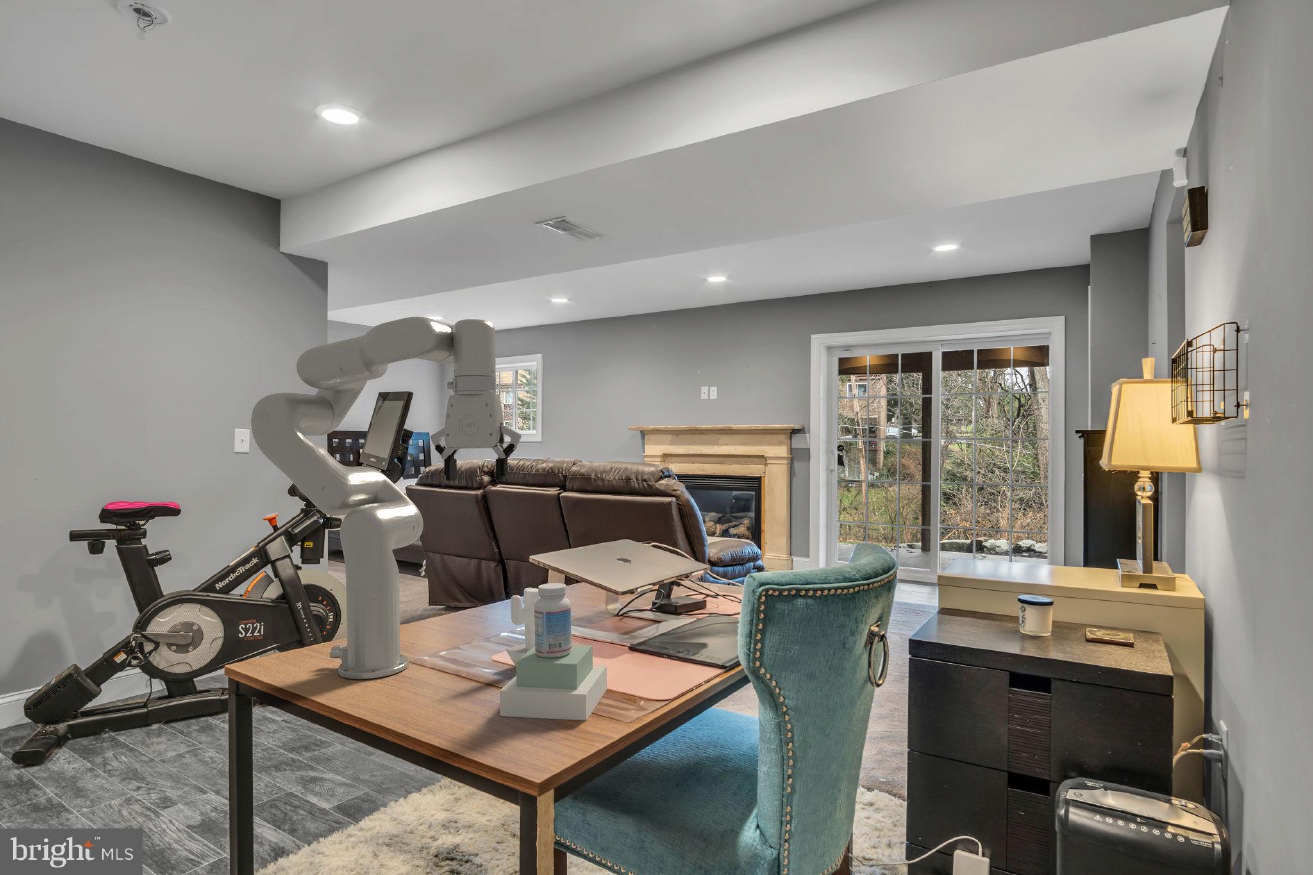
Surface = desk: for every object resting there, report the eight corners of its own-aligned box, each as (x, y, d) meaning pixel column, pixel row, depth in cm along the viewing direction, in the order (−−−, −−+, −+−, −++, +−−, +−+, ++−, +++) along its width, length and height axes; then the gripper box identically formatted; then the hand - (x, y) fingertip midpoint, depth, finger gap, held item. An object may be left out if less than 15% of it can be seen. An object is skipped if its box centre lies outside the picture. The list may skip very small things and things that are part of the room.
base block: (500, 715, 110) (499, 690, 111) (530, 685, 124) (529, 662, 124) (586, 720, 108) (586, 694, 108) (607, 688, 122) (606, 665, 122)
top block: (516, 686, 112) (516, 661, 112) (536, 666, 122) (536, 643, 122) (577, 689, 111) (576, 663, 111) (592, 669, 120) (592, 645, 120)
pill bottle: (576, 648, 119) (575, 582, 119) (564, 659, 113) (563, 590, 113) (543, 647, 120) (542, 581, 120) (528, 657, 114) (528, 588, 114)
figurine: (563, 663, 136) (562, 586, 136) (526, 677, 129) (525, 595, 129) (537, 657, 141) (537, 582, 141) (500, 669, 133) (500, 590, 133)
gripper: (421, 387, 127) (422, 481, 127) (512, 384, 124) (513, 481, 124) (440, 390, 134) (441, 479, 134) (526, 387, 132) (527, 478, 132)
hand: (476, 480), depth 129 cm, fingers open, 9 cm apart
